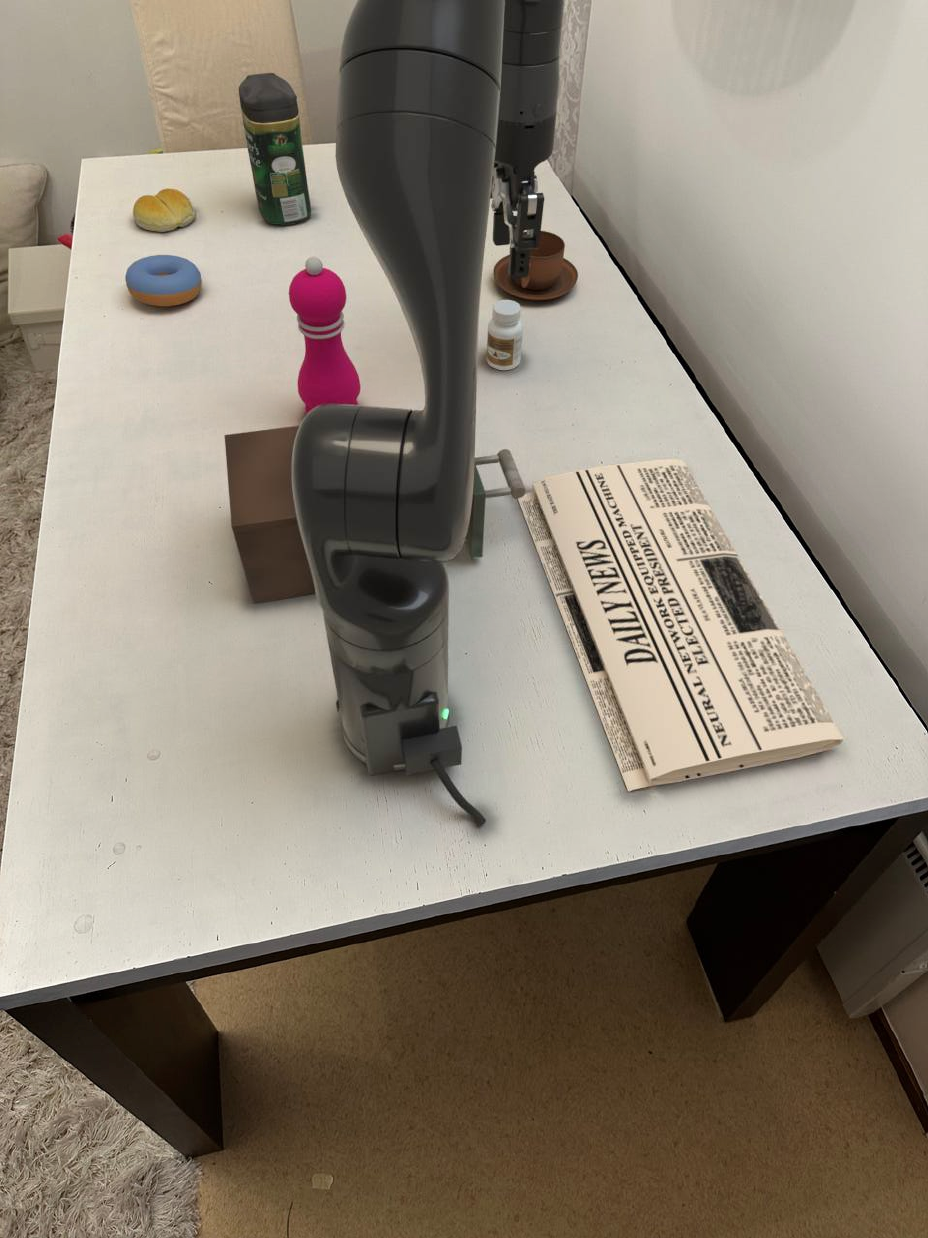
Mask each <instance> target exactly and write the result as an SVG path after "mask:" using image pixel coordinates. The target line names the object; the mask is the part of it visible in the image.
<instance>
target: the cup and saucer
mask: <svg viewBox="0 0 928 1238" xmlns="http://www.w3.org/2000/svg"><path fill="white" fill-rule="evenodd" d="M523 235H527V230H525V231H524V232H523ZM565 248H566V244H565V241H564V239H563V238H562V237H560V236H559V235H558V234H556V233H553V232H550V231H547V230H541V234H540V244H539V248H538V249H531V251H530V263H529V274H528V276H527V277H525V278H516V279H512V278H511V277H510V275H509V273H508V270H509V255H510V254H507V255H505V256H503V257H502V258H500V259H499V260H498V261H497V262H496V263H495V264H494V267H493V270H492V271H493V273H492V274H493V278H494V281H495V283H496V284H497V285H498V286H499V287H500V288H501V289H502V290H503V291H505V292H506V293H508V294H510V295H511V296H514V297H517V298H521V299H524V300H529V301H530V300H531V301H544V300H551V299H552V300H553V299H556V298H558V297H561V296H563V295H565V294H567V293H569V292H570V291H571V290H572V289H573V288H574V287H575V286H576V284H577V282H578V280H579V272H578V270H577V268H576V266H575V265H574V264H573V263H572V262H571V261H570V260H568V259H566V258H565V257H564V255H565Z"/></svg>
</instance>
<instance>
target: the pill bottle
mask: <svg viewBox="0 0 928 1238" xmlns="http://www.w3.org/2000/svg"><path fill="white" fill-rule="evenodd" d="M521 310H522V309H521V305H520V303H519V302H517V301H515V300H511V299H501V300H498V301H495V302H494V303H493V305H492V310H491V311H492V313H491V315H492V318H491V319H490V320H489V323H488V325H487V340H486V362H487V364H488V365H489V366H490V367H492V368H493V369H496V370H498V371H499V370H500V371H511V370H513V369H514V370H515V368H517V367H518V366H519V365H520V363H521V358H522V357H521V356H522V344H523V335H524V334H523V333H524V325H523V322H522V321H521V314H522V313H521Z"/></svg>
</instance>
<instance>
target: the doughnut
mask: <svg viewBox="0 0 928 1238" xmlns="http://www.w3.org/2000/svg"><path fill="white" fill-rule="evenodd" d="M124 280H125V285H126V288H127V290H128V292H129V294H130V296H132V297H133V298H134V299H135V300H137V301H138V302H140V303H142V304H146V305H149V306H156V307H173V306H179V305H182V304H185V303H188V302H190V301H192V300H193V299H195V298H196V297H197V296H198V295H199V294H200V292H201V290H202V284H203V283H202V281H203V280H202V274H201V271H200V270H199V268H198V267H197V265H196V264H195V263H193V261H190V260H189V259H187V258H184V257H181V256H178V255H172V254H154V255H148V256H145V257H142V258H139V259H137V260H134V262H132V263H131V264H130V265H129V267H127V269H126V272H125V279H124Z"/></svg>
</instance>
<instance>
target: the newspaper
mask: <svg viewBox="0 0 928 1238" xmlns="http://www.w3.org/2000/svg"><path fill="white" fill-rule="evenodd" d="M532 490H533V491H531V492H526V493H525V495H524V496H523V497H521V498H517V501H518V502H519V506H520V509H521V511H522V514H523V516H524V519H525V522H526V525H527V527H528V530H529V532H530V535H531V537H532V541H533V543H534V546H535V548H536V551H537V554H538V557H539V559H540V561H541V564H542V567H543V570H544V572H545V575H546V578H547V580H548V583H549V585H550V589H551V591H552V594H553V596H554V598H555V601H556V605H557V607H558V610H559V612H560V615H561V617H562V620H563V623H564V625H565V629H566V630H567V633H568V636H569V639H570V641H571V644H572V647H573V649H574V651H575V655H576V657H577V659H578V662H579V665H580V668H581V670H582V673H583V676H584V678H585V682H586V684H587V686H588V689H589V691H590V694H591V697H592V699H593V702H594V704H595V707H596V711H597V713H598V715H599V718H600V720H601V723H602V726H603V729H604V731H605V733H606V736H607V740H608V741H609V744H610V747H611V750H612V752H613V756H614V758H615V760H616V763H617V766H618V768H619V772H620V774H621V776H622V779H623V781H624V784H625V787H626V790H627V792H631V791H634V790H639V789H643V788H648V787H653V786H661V785H668V784H674V783H680V782H685V781H690V780H694V779H701V778H704V777H709V776H715V775H719V774H725V773H729V772H734V771H739V770H745V769H750V768H754V767H760V766H764V765H769V764H774V763H778V762H779V763H780V762H783V761H784V762H785V761H789V760H794V759H799V758H803V757H806V756H810V755H814V754H818V753H821V752H825V751H829V750H832V749H834V748H836V747H839V746H840V745H842V743H843V741H844V737H843V736H842V734H841V731H839V729H838V727H837V726H836V724H835V722H834V720H833V718H832V716H831V715H830V713H829V711H828V709H827V708H826V706H825V704H824V703H823V701H822V698H820V696H819V693H817V690H816V689H815V687H814V685H813V684H812V682H811V680H810V679H809V677H808V675H807V673H806V672H805V670H804V668H803V666H802V664H801V663H800V660H799V659H798V658H797V655H796V654H795V652H794V650H793V649H792V647H791V645H790V643H789V642H788V640H787V638H786V636H785V635H784V633H783V632H782V630H781V628H780V626H779V624H778V622H777V621H776V619H775V617H774V615H773V614H772V613H771V611H770V609H769V607H768V605H767V604H766V602H765V600H764V598H763V597H762V595H761V594H760V591H759V590H758V588H757V586H756V584H755V583H754V581H753V579H752V577H751V576H750V574H749V572H748V570H747V569H746V567H745V565H744V564H743V562H742V560H741V559H740V556H739V555H738V553H737V551H736V550H735V548H734V546H733V544H732V543H731V540H730V539H729V538H728V536H727V534H726V532H725V531H724V529H723V527H722V525H721V524H720V522H719V520H718V518H717V517H716V515H715V513H714V512H713V510H712V508H711V506H710V505H709V503H708V501H707V500H706V498H705V496H704V494H703V493H702V491H701V489H700V487H699V486H698V483H697V482H696V481H695V478H694V477H693V475H692V473H691V472H690V470H689V468H688V466H687V465H686V463H685V461H684V460H681V459H676V458H675V459H674V458H666V459H665V458H664V459H655V460H645V461H636V462H625V463H617V464H607V465H601V466H595V467H589V468H583V469H579V470H574V471H570V472H569V471H567V472H563V473H558V474H550V475H548V476H546V477H544V478H541V479H539V480H537V481H536V482H533V483H532Z"/></svg>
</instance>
